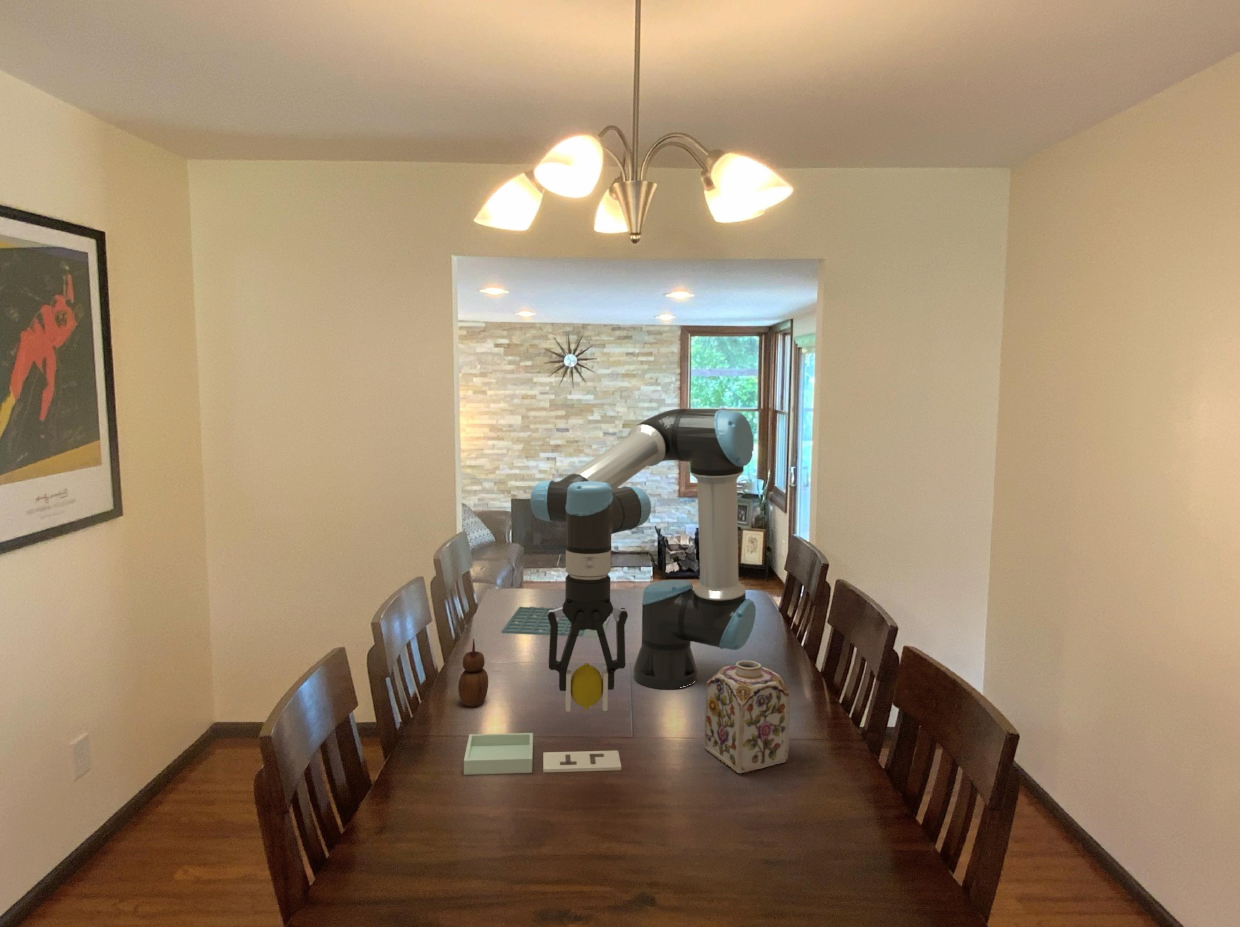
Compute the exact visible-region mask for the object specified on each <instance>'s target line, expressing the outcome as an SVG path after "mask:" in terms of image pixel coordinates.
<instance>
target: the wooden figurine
mask: <svg viewBox="0 0 1240 927" xmlns="http://www.w3.org/2000/svg"><path fill="white" fill-rule="evenodd" d="M471 649H472V650H471V651H469V652H467V653H465V654H464V656H463V659H462V667H463V669H464V670H463V672H462V673H461V674H460V677H459V680H458V688H457V691H458V696H459V698H460V700H461V703H462V704H463V705H464V706H467V707H471V708H472V707H473V708H474V707H477V706H480V705H481V704H483V703H484V702H485V700H486V698H487V694H488V689H489V676H488V673H487V671H486V669H484V667H485V655H484V654H483V652H480V651H476V644H475V638H472V648H471Z"/></svg>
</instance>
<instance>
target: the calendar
mask: <svg viewBox="0 0 1240 927" xmlns="http://www.w3.org/2000/svg"><path fill="white" fill-rule="evenodd" d="M558 608H559V607H555V608H553V607H544V606H540V607H536V606H529V607H528V606H522V605H520V606H519V607H518V608H517V609H516V611H515V612H514V614H513V615H512V616H511V617H510V619H509V620H508V622H507V623H506V625H505V626H504V627H503V629H502V630H501V634H508V635H509V634H512V635H532V636H533V635H537V636H550V622H549V619H548V610H549V609H554V610H555V609H558ZM606 623H608V624H609V622H606ZM605 626H607V627H605ZM570 627H571V623H570V621H569V620H568V619H567V617H566V616H565V614H563V615H562V616H561V621H560V622H558V637H560V636H561V637H568V634H569V631H570ZM603 628H604V632H605V631H607V628H608V625H606V624H603ZM596 631H597V630H590V629H586V630H579V634H578V636H577V638H578V637H579V638H582V637H583V638H598V634H596V633H597V632H596ZM605 633H606V632H605Z"/></svg>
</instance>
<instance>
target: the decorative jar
mask: <svg viewBox="0 0 1240 927" xmlns="http://www.w3.org/2000/svg"><path fill="white" fill-rule="evenodd" d="M790 715H791V692H790V691H789V689H788V687H787V685H786V683H785V682H784V681H783V679H782V677H781V675H780V674H779V673H776V672H774V671H773V670H771V669H770V668H767V667H762V664H761V663H759V662H757V661H755V660H739V661H737V662H736V663H735V665H727V666H723V667H722V668H720V670H718V672H716V673H715V674H714V675H713V676H712V677H711V678H709V680H708V681H707V682H706V692H705V709H704V738H703V740H704V749H705V750H706V751H707V752H708V751H709V753H710V754H711V755H712V756H714V757H715V758H716V757H717V758H716V759H718V760H719V761H720V760H721V761H720V762H722V763H723V764H724V763H725V764H724V765H726V766H727V765H728V766H729V767H731V768H732V769H733V770H734V771H733V770H732V769H731V768H730V769H731V770H732V771H733V772H735V771H736V772H737V773H743V772H746V771H749V770H752V769H755V768H757V767H761V766H763V765H767V764H771V763H772V762H777V761H779V760H780V759H787V758H788V756H789V748H790V747H789V745H790V744H789V743H790V724H791V723H790V720H791V716H790ZM787 760H788V759H787ZM728 766H727V767H728ZM729 767H728V768H729ZM736 772H735V773H736ZM737 773H736V774H737Z"/></svg>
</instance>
